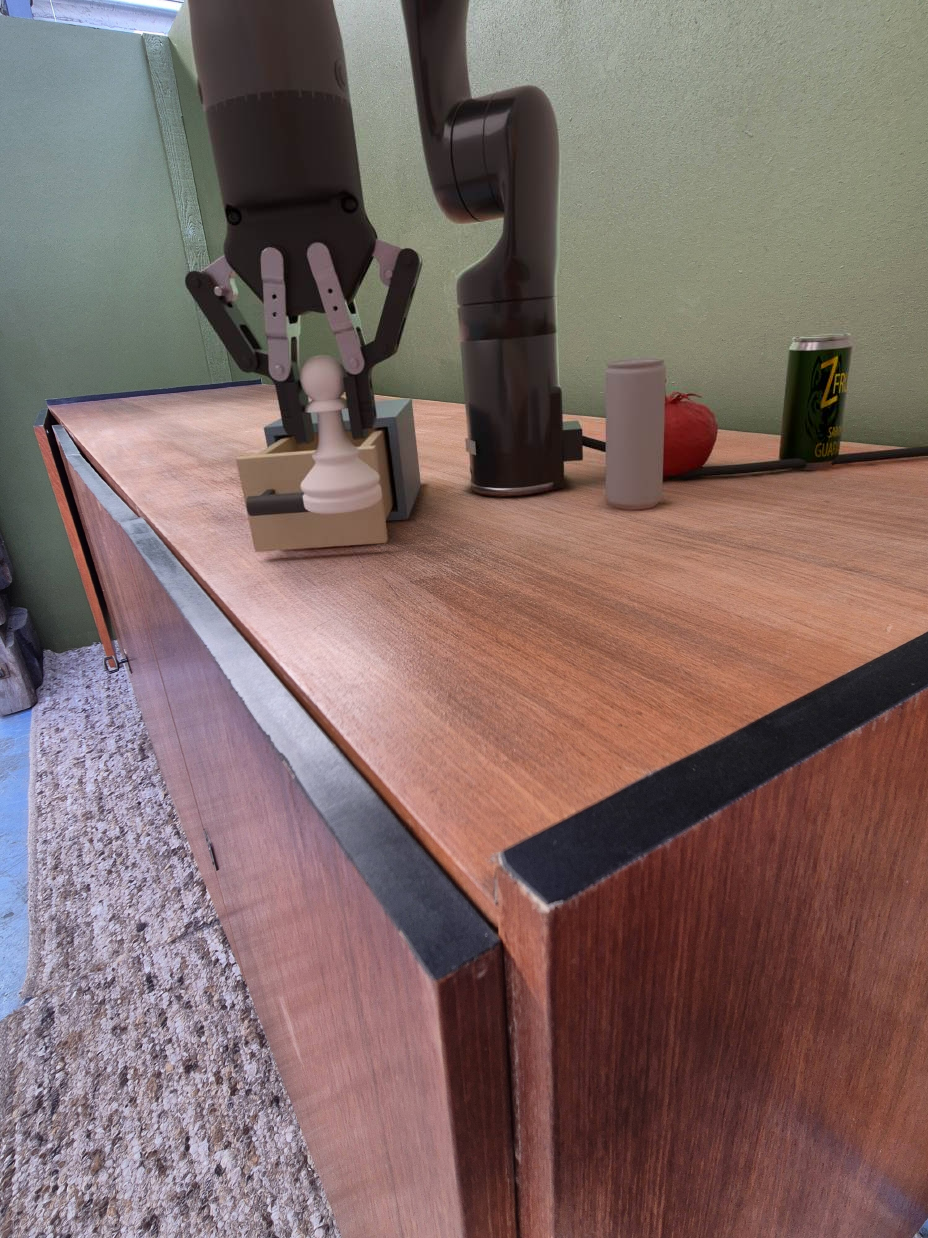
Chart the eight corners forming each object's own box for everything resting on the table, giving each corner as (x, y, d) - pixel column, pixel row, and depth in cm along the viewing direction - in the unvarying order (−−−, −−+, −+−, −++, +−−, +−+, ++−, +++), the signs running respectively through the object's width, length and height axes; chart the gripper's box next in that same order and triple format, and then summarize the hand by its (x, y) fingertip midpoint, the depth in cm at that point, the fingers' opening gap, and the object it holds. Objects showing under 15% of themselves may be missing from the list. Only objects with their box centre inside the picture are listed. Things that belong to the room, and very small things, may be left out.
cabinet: (407, 519, 64) (395, 416, 61) (282, 528, 65) (263, 427, 62) (421, 485, 77) (411, 398, 73) (315, 493, 78) (301, 407, 74)
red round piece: (723, 481, 68) (730, 379, 64) (616, 487, 69) (616, 386, 65) (705, 460, 77) (710, 369, 73) (610, 465, 78) (610, 376, 74)
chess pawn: (326, 519, 42) (298, 360, 39) (291, 506, 46) (263, 359, 43) (397, 500, 45) (377, 349, 41) (359, 489, 49) (337, 350, 45)
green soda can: (767, 466, 72) (777, 339, 67) (797, 457, 74) (810, 333, 70) (818, 473, 68) (833, 337, 63) (848, 462, 70) (865, 332, 66)
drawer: (377, 562, 51) (363, 459, 48) (236, 571, 52) (214, 471, 49) (403, 502, 67) (394, 422, 64) (294, 510, 67) (280, 432, 64)
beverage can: (663, 510, 60) (667, 360, 56) (605, 511, 61) (604, 365, 57) (660, 496, 65) (664, 355, 60) (606, 497, 66) (606, 360, 61)
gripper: (418, 105, 40) (448, 420, 47) (176, 133, 41) (241, 438, 48) (404, 66, 33) (442, 441, 40) (113, 101, 34) (200, 462, 41)
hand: (332, 438), depth 44 cm, fingers closed on chess pawn, 3 cm apart
